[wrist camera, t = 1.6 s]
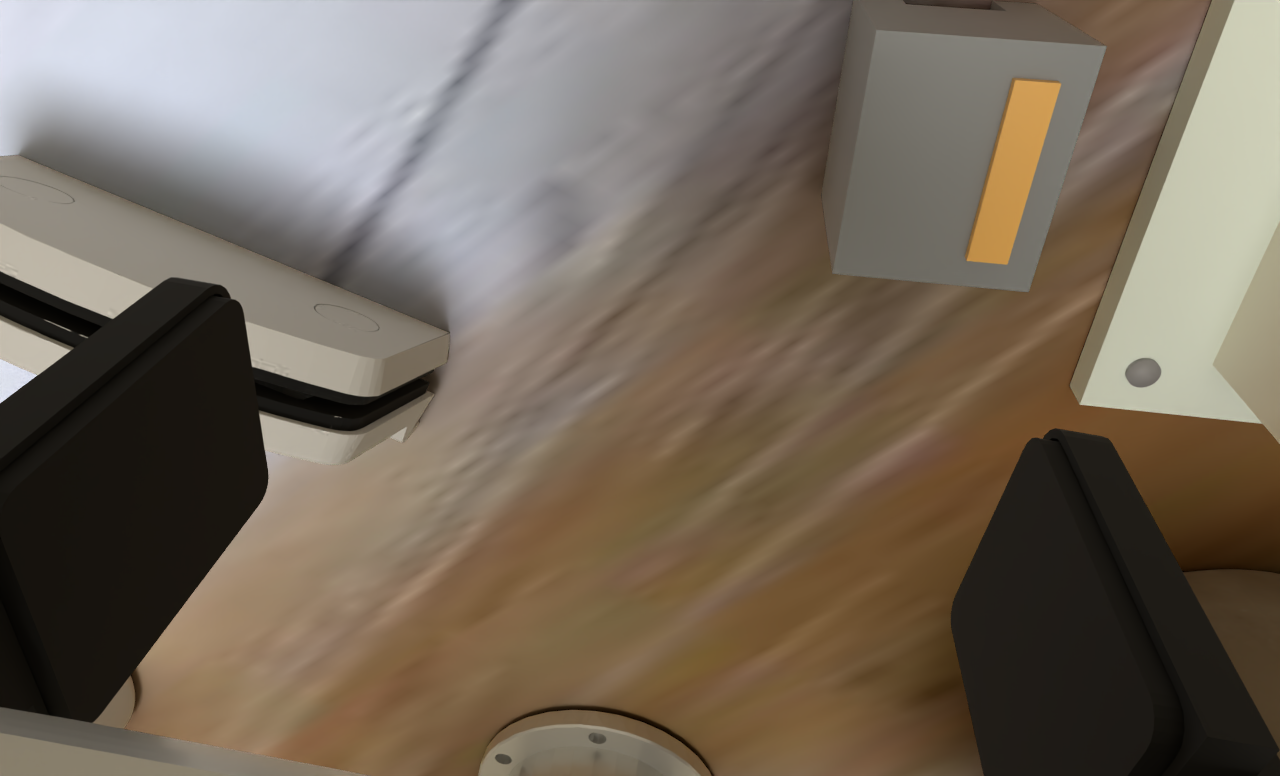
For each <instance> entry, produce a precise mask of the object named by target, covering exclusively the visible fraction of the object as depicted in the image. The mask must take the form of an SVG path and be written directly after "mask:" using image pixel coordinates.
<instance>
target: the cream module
mask: <svg viewBox="0 0 1280 776" xmlns="http://www.w3.org/2000/svg"><path fill="white" fill-rule="evenodd" d="M1212 365H1213V366H1214V367H1215V368H1216V369H1217V370H1218V372H1219V373H1220V374H1221V375H1222V376H1223V378H1224V379H1225V380H1226V381H1227V382H1228V383H1229V385H1230V386H1231V387H1232V388H1233V389H1234V391H1235V392H1236V393H1237V394H1238V395H1239V396H1240V398H1241V399H1242V400H1243V401H1244V402H1245V404H1246V405H1247V406H1248V407H1249V408H1250V409H1251V411H1252V412H1253V413H1254V414H1255V415H1256V417H1257V418H1258V419H1259V420H1260V421H1261V422H1262V424H1263V425H1264V426H1265V427H1266V428H1267V430H1268V431H1269V432H1270V433H1271V434H1272V436H1273V437H1274V438H1275V439H1276V440H1277V441H1278V443H1279V444H1280V221H1279V223H1278V226H1277V228H1276V230H1275V232H1274V234H1273V236H1272V238H1271V240H1270V243H1269V245H1268V247H1267V249H1266V251H1265V253H1264V255H1263V258H1262V260H1261V262H1260V264H1259V266H1258V268H1257V270H1256V273H1255V275H1254V277H1253V279H1252V281H1251V283H1250V285H1249V288H1248V290H1247V292H1246V294H1245V296H1244V298H1243V300H1242V302H1241V305H1240V307H1239V309H1238V311H1237V313H1236V315H1235V317H1234V320H1233V322H1232V324H1231V326H1230V328H1229V330H1228V332H1227V335H1226V337H1225V339H1224V341H1223V343H1222V345H1221V347H1220V349H1219V352H1218V354H1217V356H1216V358H1215V360H1214V362H1213V364H1212Z"/></svg>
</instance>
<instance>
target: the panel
mask: <svg viewBox="0 0 1280 776" xmlns="http://www.w3.org/2000/svg"><path fill="white" fill-rule="evenodd" d="M1279 221H1280V0H1212V2H1211V4H1210V7H1209V10H1208V13H1207V15H1206V18H1205V21H1204V23H1203V26H1202V29H1201V32H1200V34H1199V37H1198V40H1197V42H1196V45H1195V48H1194V50H1193V53H1192V56H1191V59H1190V61H1189V64H1188V67H1187V69H1186V72H1185V75H1184V77H1183V80H1182V83H1181V86H1180V88H1179V91H1178V94H1177V96H1176V99H1175V102H1174V105H1173V107H1172V110H1171V113H1170V115H1169V118H1168V121H1167V123H1166V126H1165V129H1164V132H1163V134H1162V137H1161V140H1160V142H1159V145H1158V148H1157V150H1156V153H1155V156H1154V159H1153V161H1152V164H1151V167H1150V169H1149V172H1148V175H1147V177H1146V180H1145V183H1144V186H1143V188H1142V191H1141V194H1140V196H1139V199H1138V202H1137V205H1136V207H1135V210H1134V213H1133V215H1132V218H1131V221H1130V223H1129V226H1128V229H1127V232H1126V234H1125V237H1124V240H1123V242H1122V245H1121V248H1120V250H1119V253H1118V256H1117V259H1116V261H1115V264H1114V267H1113V269H1112V272H1111V275H1110V278H1109V280H1108V283H1107V286H1106V288H1105V291H1104V294H1103V296H1102V299H1101V302H1100V305H1099V307H1098V310H1097V313H1096V315H1095V318H1094V321H1093V323H1092V326H1091V329H1090V332H1089V334H1088V337H1087V340H1086V342H1085V345H1084V348H1083V350H1082V353H1081V356H1080V359H1079V361H1078V364H1077V367H1076V369H1075V372H1074V375H1073V378H1072V380H1071V383H1070V388H1071V390H1072V391H1073V393H1074V395H1075V397H1076V399H1077V401H1078V402H1079V404H1080V405H1088V406H1097V407H1107V408H1117V409H1126V410H1136V411H1145V412H1155V413H1165V414H1174V415H1184V416H1193V417H1203V418H1213V419H1222V420H1232V421H1241V422H1251V423H1260V424H1262V422H1261V421H1260V420H1259V419H1258V418H1257V417H1256V415H1255V414H1254V413H1253V412H1252V411H1251V409H1250V408H1249V407H1248V406H1247V405H1246V404H1245V402H1244V401H1243V400H1242V399H1241V398H1240V396H1239V395H1238V394H1237V393H1236V392H1235V391H1234V389H1233V388H1232V387H1231V386H1230V385H1229V383H1228V382H1227V381H1226V380H1225V379H1224V378H1223V376H1222V375H1221V374H1220V373H1219V372H1218V370H1217V369H1216V368H1215V367H1214V366H1213V365H1212V364H1213V362H1214V360H1215V358H1216V356H1217V354H1218V352H1219V349H1220V347H1221V345H1222V343H1223V341H1224V339H1225V337H1226V335H1227V332H1228V330H1229V328H1230V326H1231V324H1232V322H1233V320H1234V317H1235V315H1236V313H1237V311H1238V309H1239V307H1240V305H1241V302H1242V300H1243V298H1244V296H1245V294H1246V292H1247V290H1248V288H1249V285H1250V283H1251V281H1252V279H1253V277H1254V275H1255V273H1256V270H1257V268H1258V266H1259V264H1260V262H1261V260H1262V258H1263V255H1264V253H1265V251H1266V249H1267V247H1268V245H1269V243H1270V240H1271V238H1272V236H1273V234H1274V232H1275V230H1276V228H1277V226H1278V223H1279Z"/></svg>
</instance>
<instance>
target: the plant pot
mask: <svg viewBox="0 0 1280 776" xmlns="http://www.w3.org/2000/svg"><path fill="white" fill-rule="evenodd" d="M1183 574H1184V576H1185V577H1186V579H1187V581H1188V583H1189V585H1190V586H1191V588H1192V590H1193V592H1194V594H1195V596H1196V597H1197V599H1198V601H1199V603H1200V605H1201V607H1202V608H1203V610H1204V612H1205V614H1206V616H1207V618H1208V619H1209V621H1210V623H1211V625H1212V627H1213V629H1214V630H1215V632H1216V634H1217V636H1218V638H1219V639H1220V641H1221V643H1222V645H1223V647H1224V649H1225V650H1226V652H1227V654H1228V656H1229V658H1230V660H1231V661H1232V663H1233V665H1234V667H1235V669H1236V671H1237V672H1238V674H1239V676H1240V678H1241V680H1242V682H1243V683H1244V685H1245V687H1246V689H1247V691H1248V693H1249V694H1250V696H1251V698H1252V700H1253V702H1254V703H1255V705H1256V707H1257V709H1258V711H1259V713H1260V714H1261V716H1262V718H1263V720H1264V722H1265V724H1266V725H1267V727H1268V729H1269V731H1270V733H1271V735H1272V736H1273V738H1274V740H1275V742H1276V744H1277V746H1278V747H1279V749H1280V574H1278V573H1273V572H1264V571H1256V570H1242V569H1216V570H1203V571H1192V572H1183ZM1277 756H1278V757H1279V759H1280V750H1279V752H1278V753H1277Z"/></svg>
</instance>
